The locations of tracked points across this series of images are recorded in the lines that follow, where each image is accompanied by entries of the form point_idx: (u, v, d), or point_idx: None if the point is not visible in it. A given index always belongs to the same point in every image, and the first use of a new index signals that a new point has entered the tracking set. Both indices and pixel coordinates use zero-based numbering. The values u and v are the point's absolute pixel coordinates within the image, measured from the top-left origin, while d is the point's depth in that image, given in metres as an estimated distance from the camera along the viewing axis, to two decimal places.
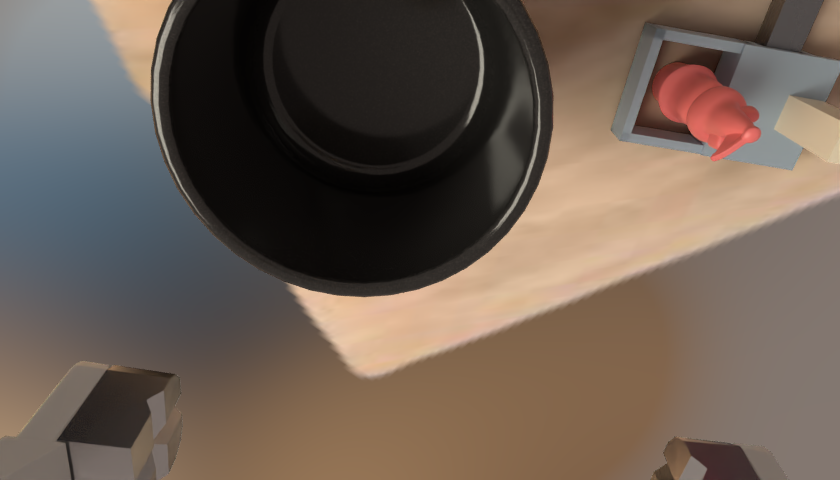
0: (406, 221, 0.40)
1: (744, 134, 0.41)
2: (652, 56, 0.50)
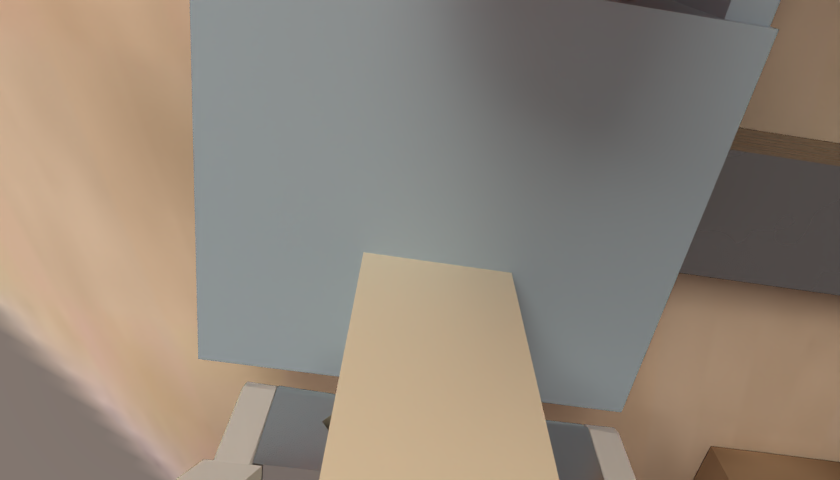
0: None
1: None
2: None
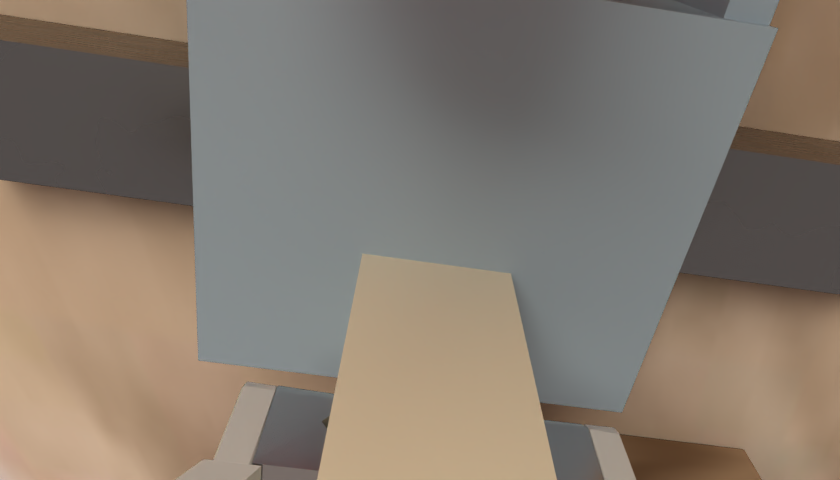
0: None
1: None
2: None
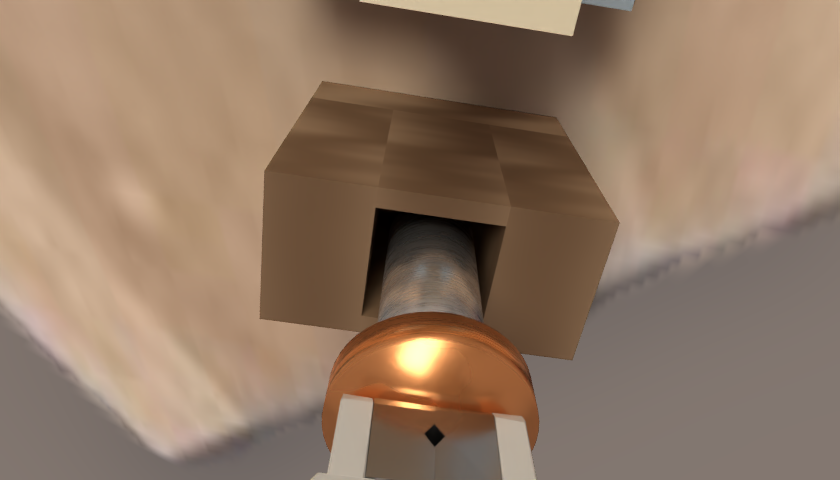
0: None
1: None
2: None
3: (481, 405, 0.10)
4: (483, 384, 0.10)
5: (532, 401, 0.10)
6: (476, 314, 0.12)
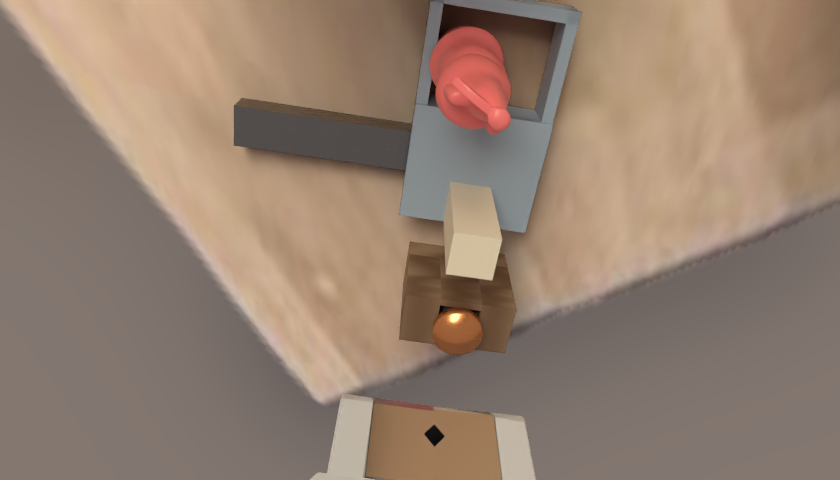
0: None
1: (500, 109, 0.30)
2: (546, 13, 0.39)
3: (469, 328, 0.43)
4: (469, 323, 0.43)
5: (480, 327, 0.43)
6: None
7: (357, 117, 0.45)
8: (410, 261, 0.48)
